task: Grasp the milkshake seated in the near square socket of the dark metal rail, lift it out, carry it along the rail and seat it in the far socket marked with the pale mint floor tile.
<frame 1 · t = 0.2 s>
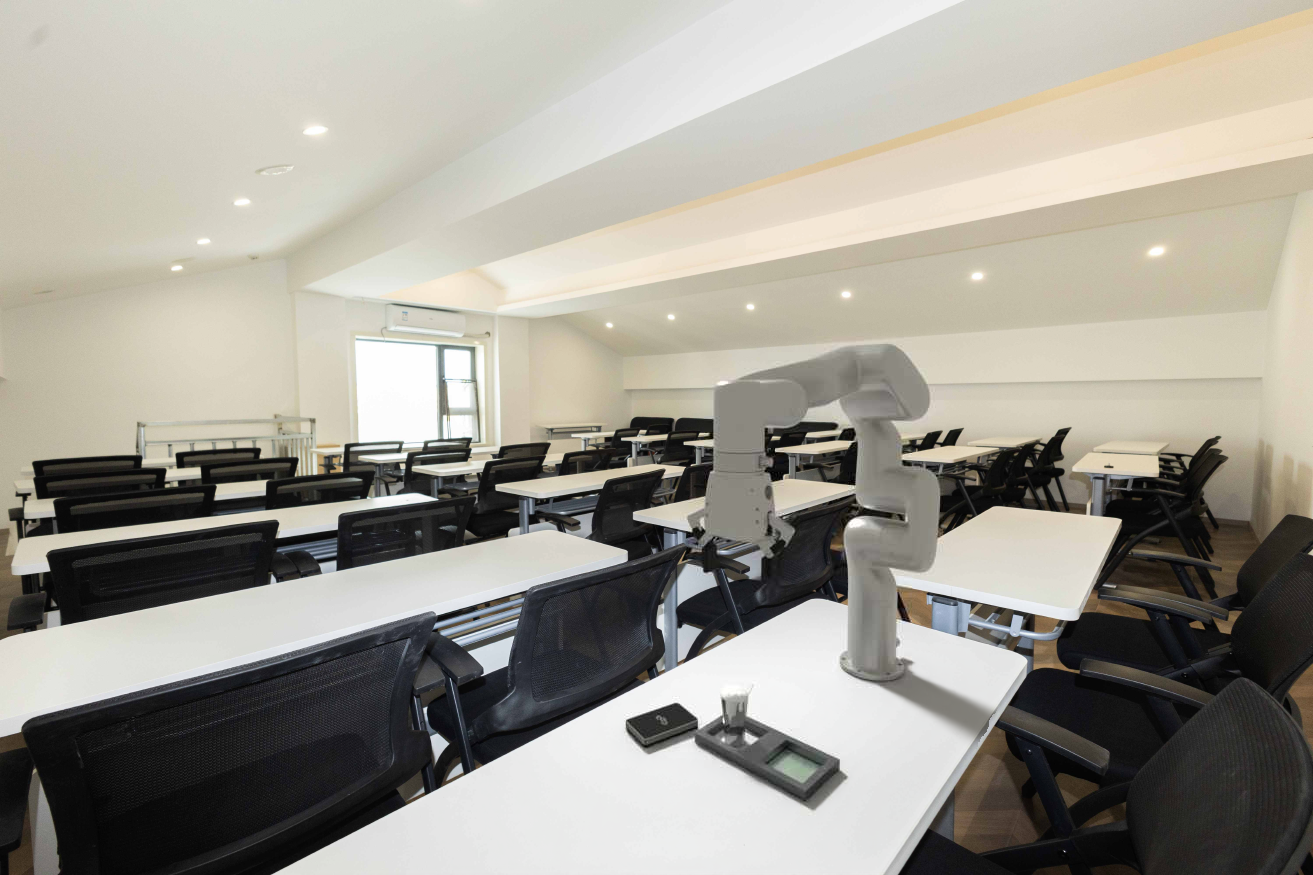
hand: (738, 576, 89), 30 cm above the table, fingers open, 9 cm apart
external hard drive: (661, 732, 102), on the table
milkshake: (737, 742, 98), on the table
socket rail: (764, 754, 94), on the table
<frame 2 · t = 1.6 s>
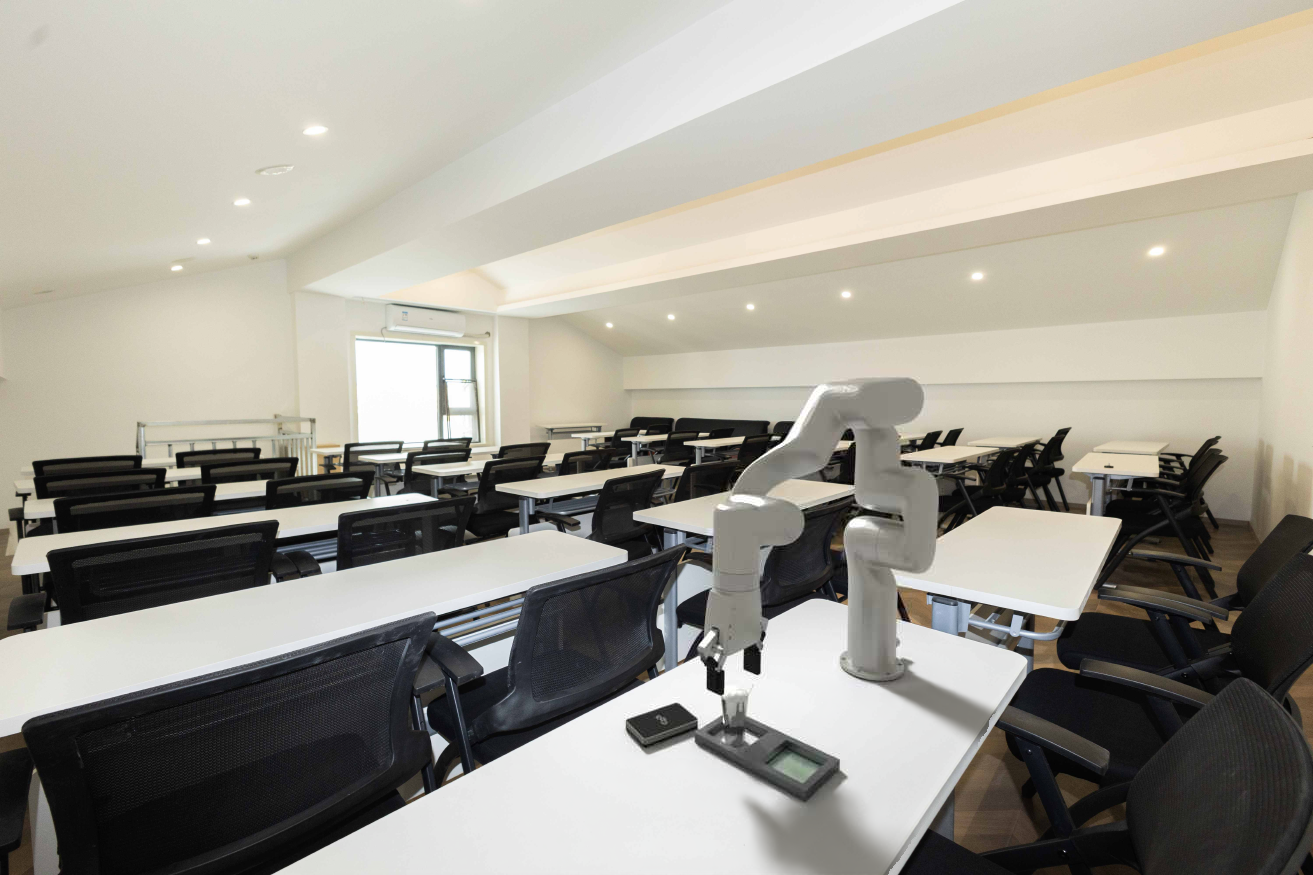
hand: (734, 681, 97), 10 cm above the table, fingers open, 9 cm apart
nothing on the table moved.
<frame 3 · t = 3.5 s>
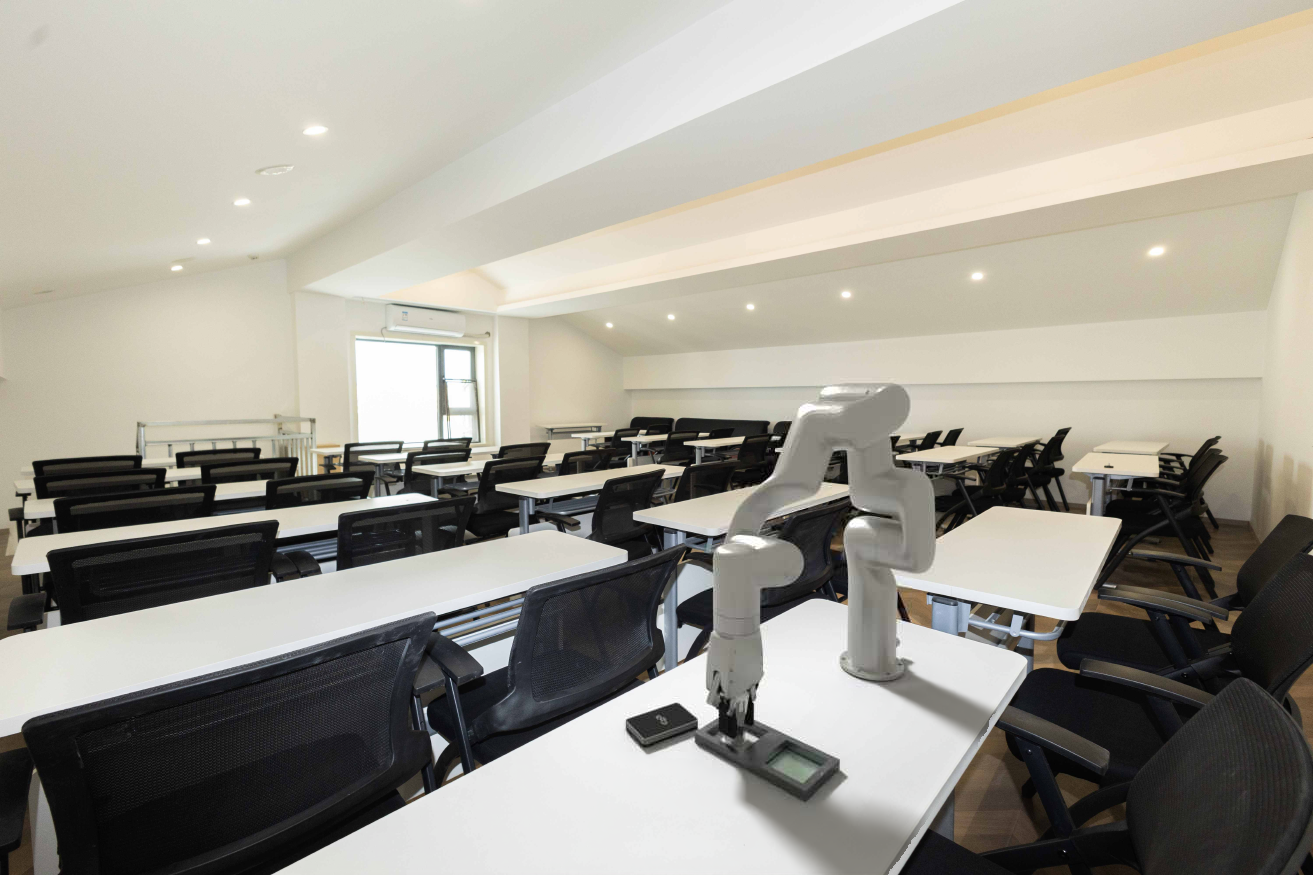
hand: (736, 727, 98), 2 cm above the table, fingers closed on milkshake, 4 cm apart
milkshake: (736, 741, 98), on the table, touching gripper
everything else where it was.
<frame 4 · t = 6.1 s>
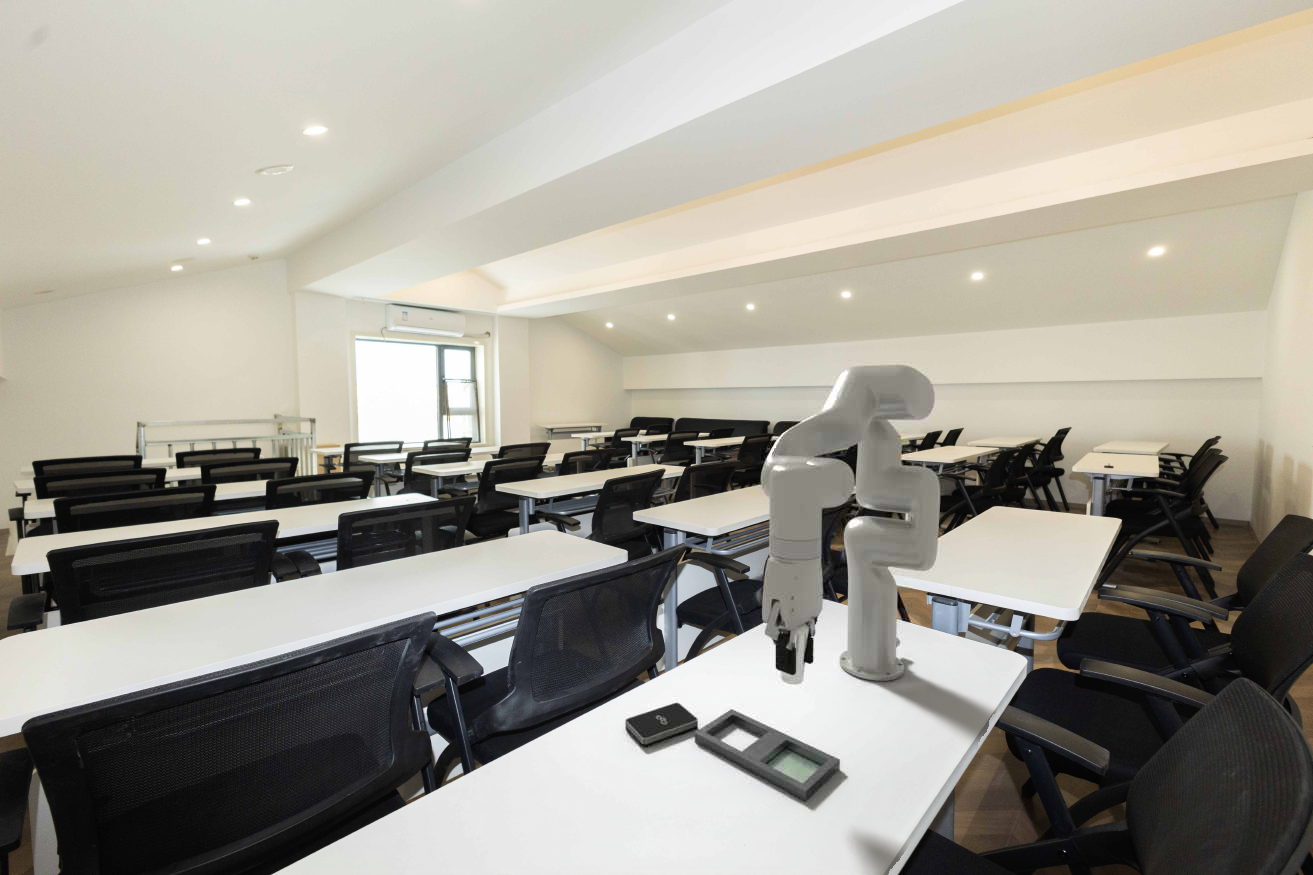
hand: (794, 664, 89), 17 cm above the table, fingers closed on milkshake, 4 cm apart
milkshake: (794, 680, 89), point 14 cm above the table, touching gripper
everything else where it was.
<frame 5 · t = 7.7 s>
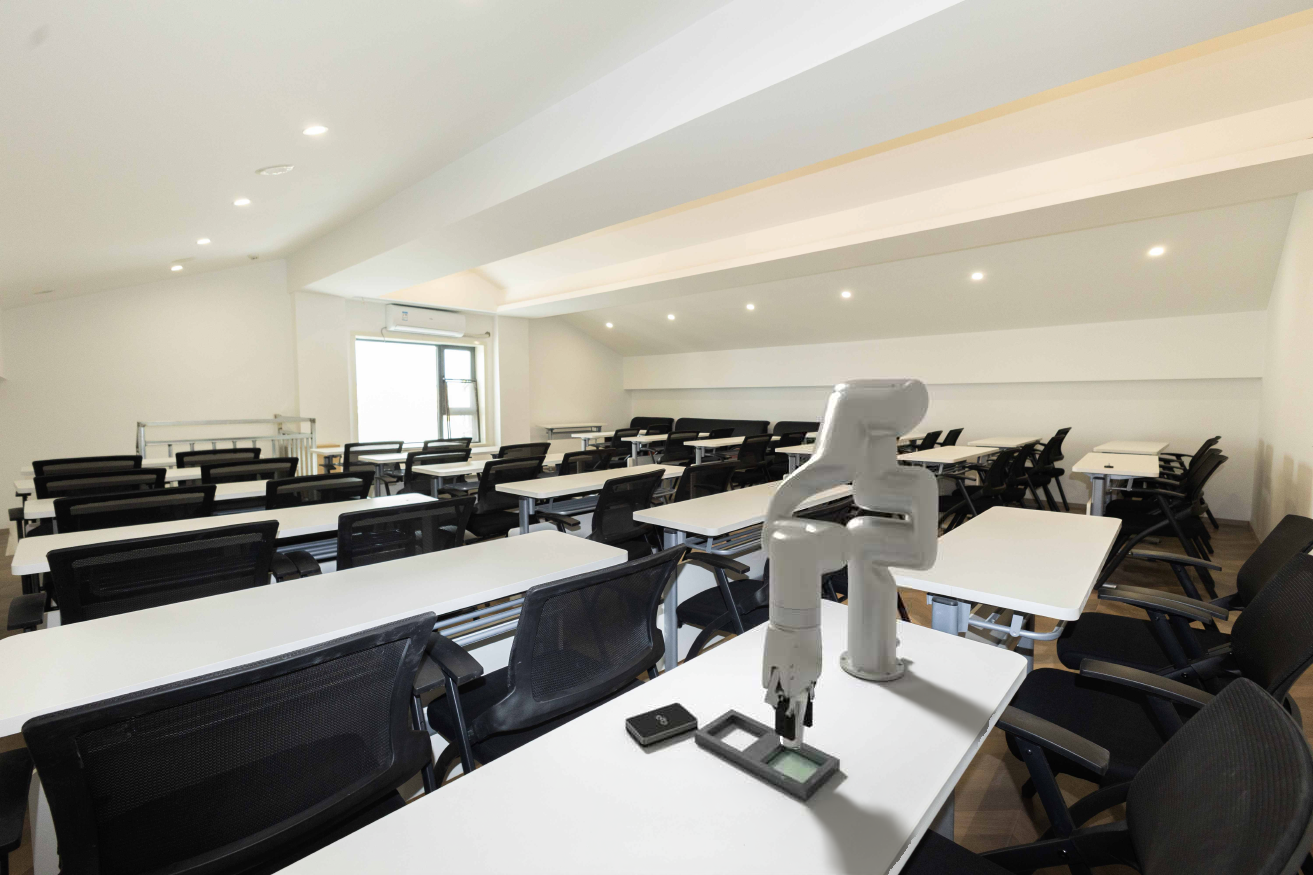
hand: (793, 728, 90), 7 cm above the table, fingers closed on milkshake, 4 cm apart
milkshake: (794, 744, 90), point 4 cm above the table, touching gripper
everything else where it was.
when the fingers open (4 cm above the table, at t = 9.0 s): milkshake drops 2 cm, resting on socket rail.
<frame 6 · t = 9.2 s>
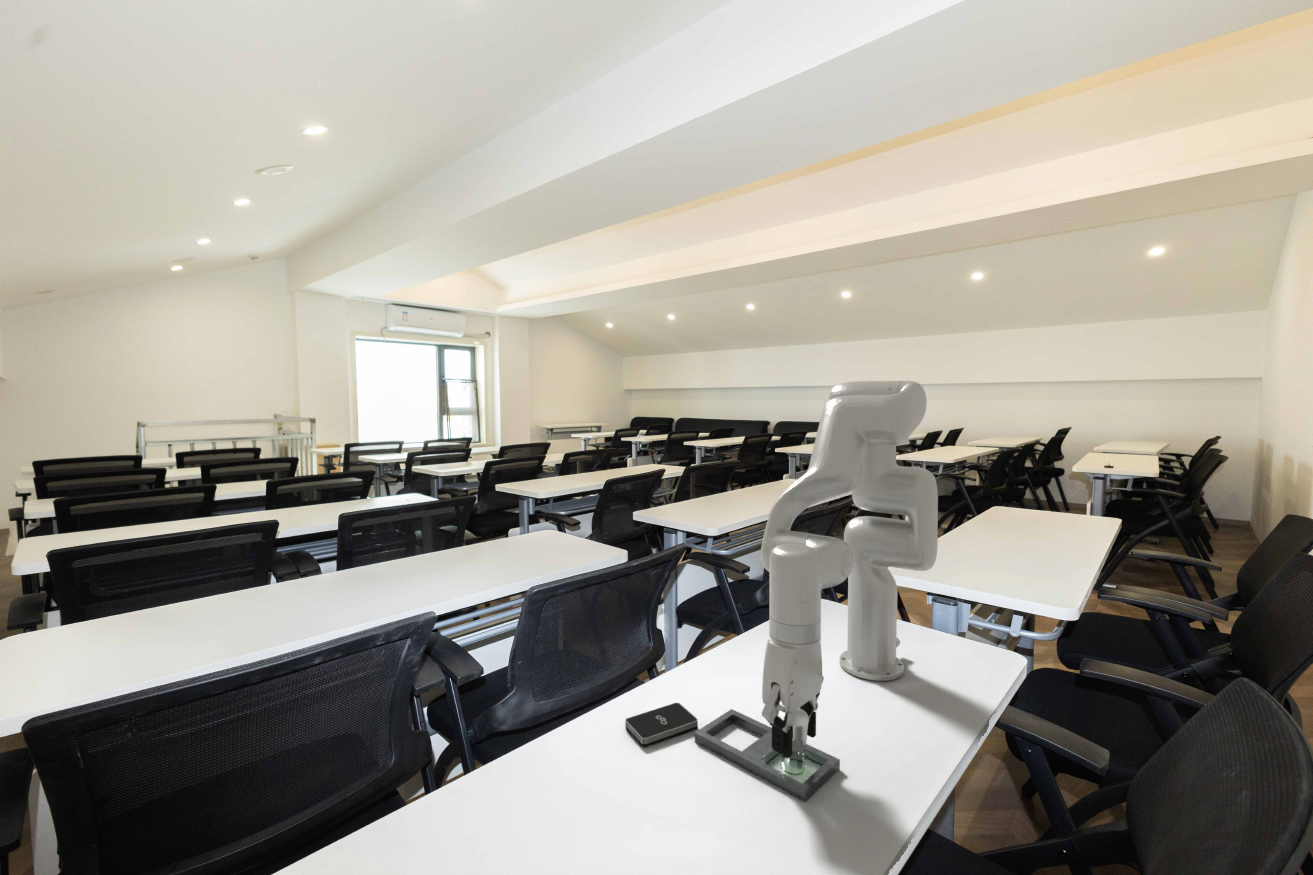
hand: (794, 741, 90), 5 cm above the table, fingers open, 6 cm apart
milkshake: (796, 768, 90), resting on socket rail
everything else where it was.
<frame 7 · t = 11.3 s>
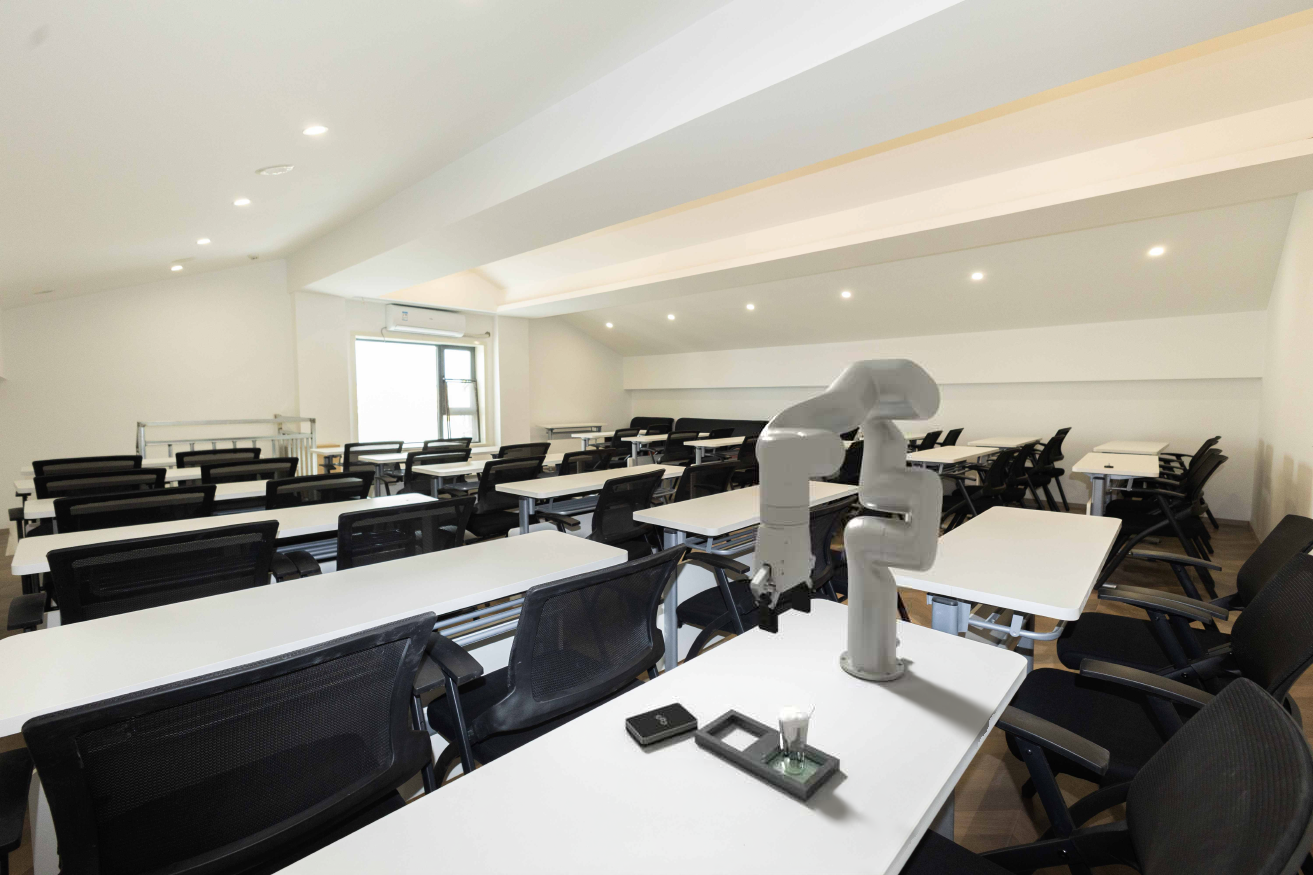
hand: (785, 620, 93), 22 cm above the table, fingers open, 9 cm apart
nothing on the table moved.
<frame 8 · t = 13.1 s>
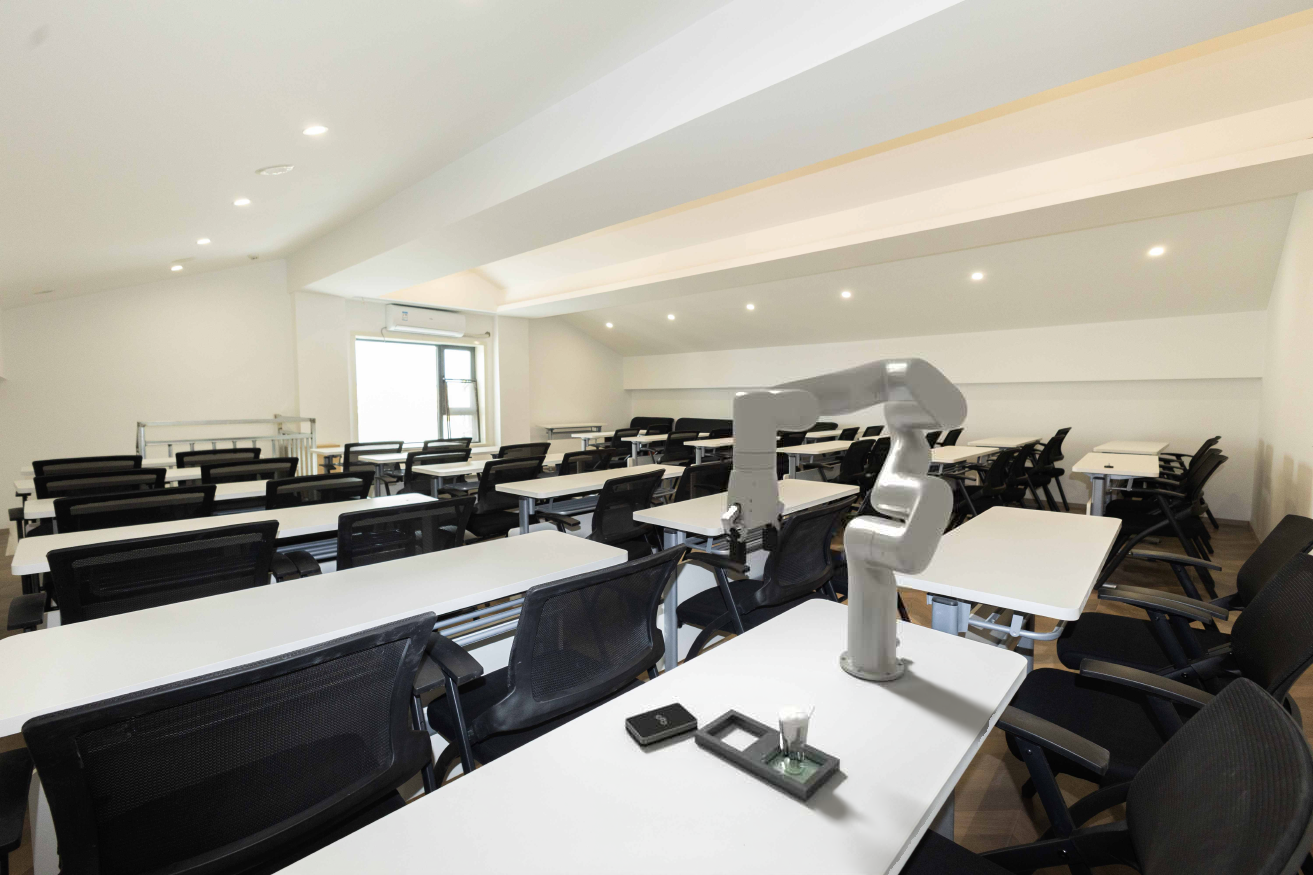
hand: (754, 556, 105), 28 cm above the table, fingers open, 9 cm apart
nothing on the table moved.
at the end: milkshake 0.4 cm from the target spot on the socket rail, point 0.0 cm above the socket rail's base; milkshake tilted 0°; the gripper is holding nothing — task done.
